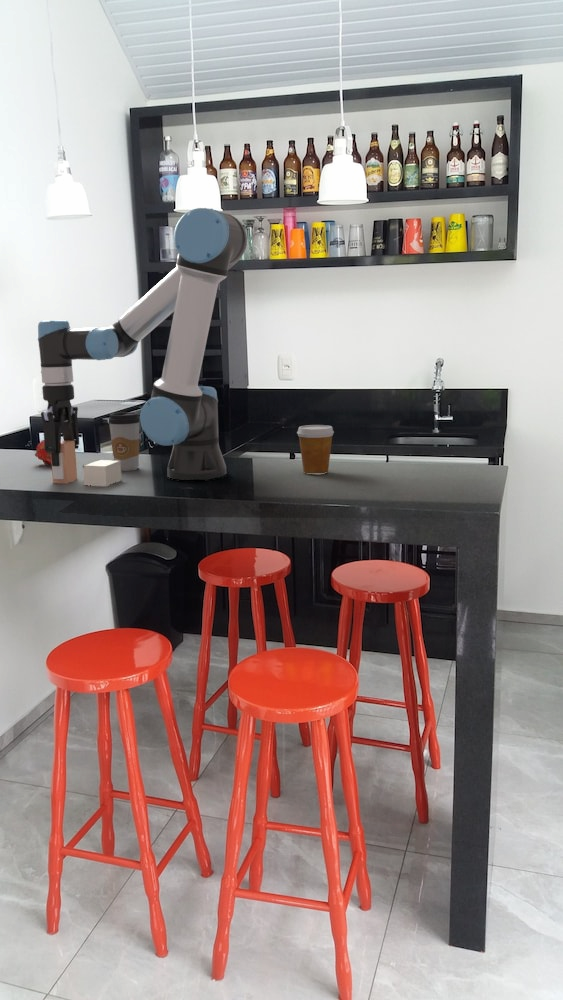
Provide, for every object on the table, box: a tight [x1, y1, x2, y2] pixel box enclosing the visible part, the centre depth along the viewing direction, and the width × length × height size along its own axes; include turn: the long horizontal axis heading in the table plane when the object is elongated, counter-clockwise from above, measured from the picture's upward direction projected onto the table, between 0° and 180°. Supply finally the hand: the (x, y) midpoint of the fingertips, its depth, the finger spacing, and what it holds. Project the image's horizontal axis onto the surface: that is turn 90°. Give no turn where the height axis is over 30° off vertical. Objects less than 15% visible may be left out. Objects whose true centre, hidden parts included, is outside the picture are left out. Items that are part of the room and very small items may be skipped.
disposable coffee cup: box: [296, 424, 335, 473], centre depth 214 cm, size 10×10×12 cm
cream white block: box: [82, 459, 122, 487], centre depth 207 cm, size 6×8×5 cm
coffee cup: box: [108, 411, 140, 472], centre depth 224 cm, size 8×8×15 cm
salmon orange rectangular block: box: [50, 439, 78, 484], centre depth 209 cm, size 4×5×10 cm
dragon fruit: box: [34, 439, 52, 466], centre depth 233 cm, size 8×8×12 cm
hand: (64, 476), depth 210 cm, fingers closed on salmon orange rectangular block, 5 cm apart
